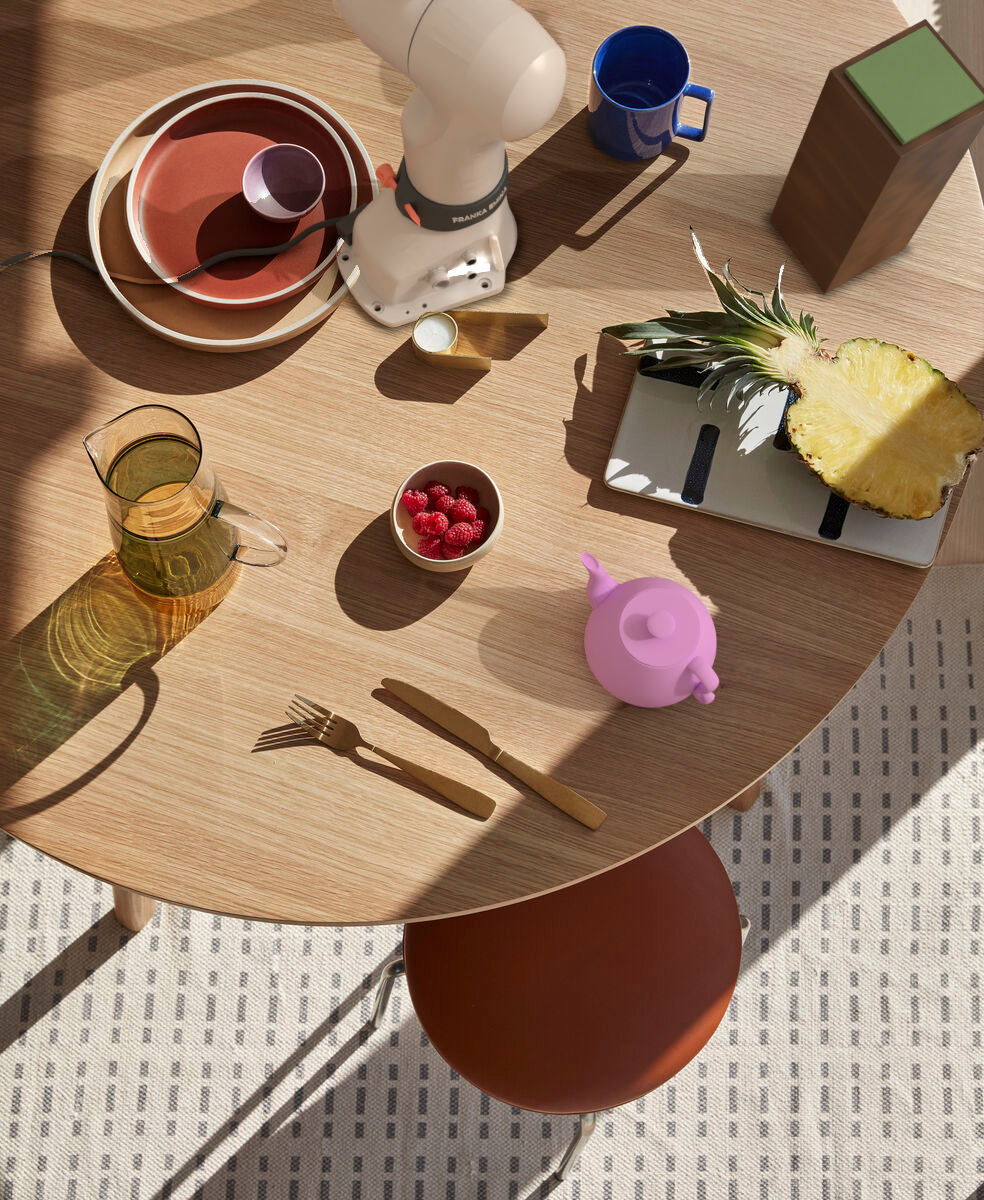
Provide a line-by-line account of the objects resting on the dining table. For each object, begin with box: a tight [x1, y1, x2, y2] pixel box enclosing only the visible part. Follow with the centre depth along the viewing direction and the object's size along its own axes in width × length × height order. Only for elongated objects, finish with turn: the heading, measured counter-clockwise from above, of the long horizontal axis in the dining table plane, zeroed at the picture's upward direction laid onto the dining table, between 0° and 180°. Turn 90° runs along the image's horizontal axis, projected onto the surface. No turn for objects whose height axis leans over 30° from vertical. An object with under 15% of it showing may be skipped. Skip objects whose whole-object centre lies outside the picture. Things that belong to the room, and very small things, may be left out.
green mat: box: [844, 26, 984, 145], centre depth 111 cm, size 10×10×1 cm
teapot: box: [579, 551, 720, 709], centre depth 117 cm, size 20×14×12 cm
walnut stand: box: [768, 18, 984, 295], centre depth 124 cm, size 12×12×26 cm
